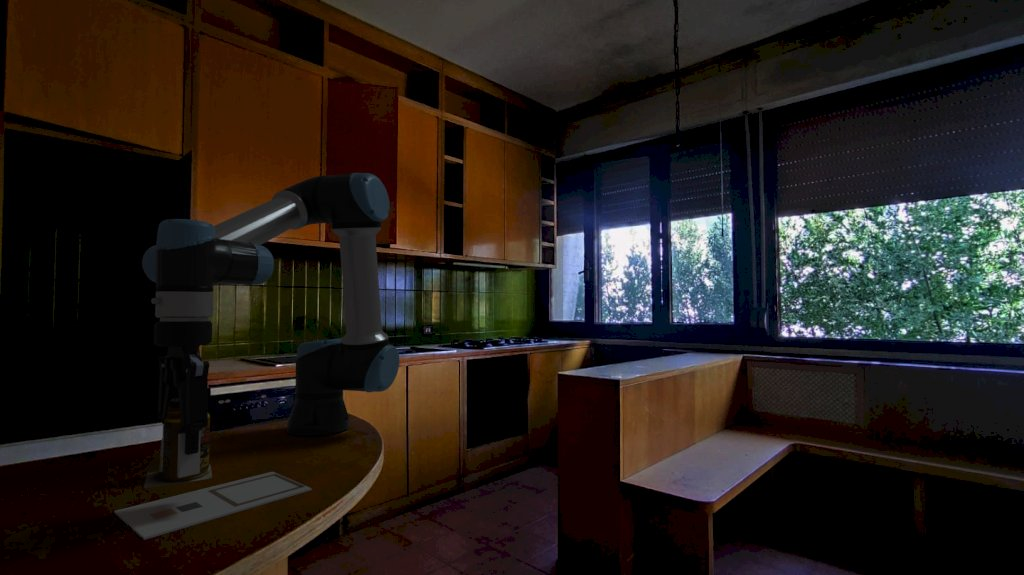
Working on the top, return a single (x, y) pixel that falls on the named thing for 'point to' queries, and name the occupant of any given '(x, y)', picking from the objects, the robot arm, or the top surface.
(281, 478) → the sheet
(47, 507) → the top surface
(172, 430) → the condiment
